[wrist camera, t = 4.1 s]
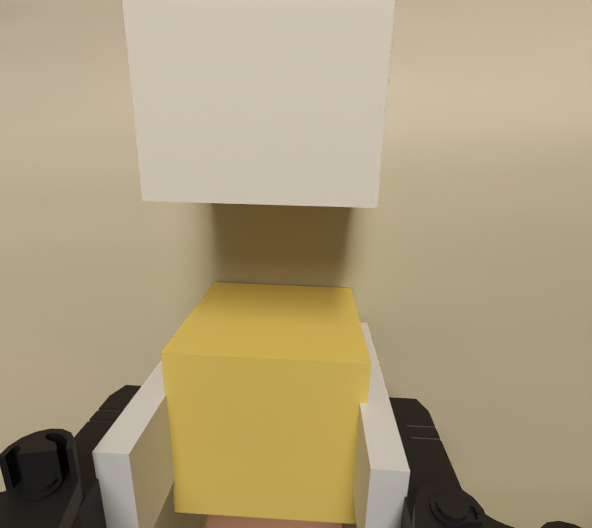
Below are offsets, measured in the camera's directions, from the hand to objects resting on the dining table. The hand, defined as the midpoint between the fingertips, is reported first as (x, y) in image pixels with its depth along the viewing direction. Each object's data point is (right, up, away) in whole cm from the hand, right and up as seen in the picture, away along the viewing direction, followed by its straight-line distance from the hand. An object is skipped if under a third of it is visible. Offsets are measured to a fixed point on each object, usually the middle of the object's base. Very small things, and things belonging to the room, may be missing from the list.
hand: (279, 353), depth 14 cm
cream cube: (0, +8, -2) cm, 9 cm away
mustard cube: (0, 0, 0) cm, 1 cm away
